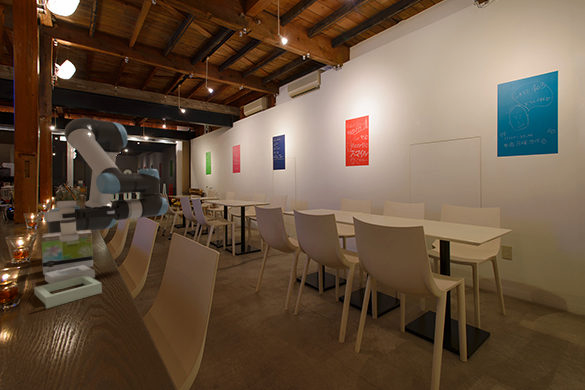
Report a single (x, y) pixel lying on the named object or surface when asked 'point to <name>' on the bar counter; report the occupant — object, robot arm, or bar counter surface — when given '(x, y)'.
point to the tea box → (66, 251)
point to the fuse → (67, 222)
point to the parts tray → (69, 295)
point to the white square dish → (69, 274)
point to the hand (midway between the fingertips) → (46, 216)
